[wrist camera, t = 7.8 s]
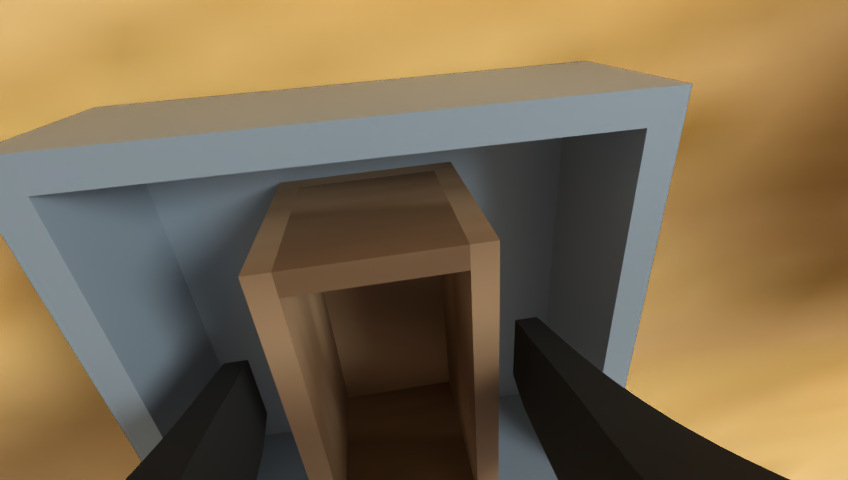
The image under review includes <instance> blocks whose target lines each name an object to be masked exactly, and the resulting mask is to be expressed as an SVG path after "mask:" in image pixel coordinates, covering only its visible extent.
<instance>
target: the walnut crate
mask: <svg viewBox="0 0 848 480" xmlns="http://www.w3.org/2000/svg"><path fill="white" fill-rule="evenodd" d="M238 278H239V281H240V284H241V287H242V290H243V292H244V295H245V298H246V301H247V304H248V307H249V310H250V313H251V315H252V318H253V321H254V324H255V327H256V330H257V333H258V336H259V338H260V341H261V344H262V347H263V350H264V353H265V356H266V358H267V361H268V364H269V367H270V370H271V373H272V376H273V379H274V381H275V384H276V387H277V390H278V393H279V396H280V399H281V402H282V404H283V407H284V410H285V413H286V416H287V419H288V422H289V424H290V427H291V430H292V433H293V436H294V439H295V442H296V445H297V447H298V450H299V453H300V456H301V459H302V462H303V465H304V467H305V470H306V473H307V476H308V479H309V480H498V466H499V322H500V239H499V238H498V236H497V235H496V233H495V231H494V230H493V228H492V227H491V225H490V223H489V222H488V220H487V219H486V217H485V215H484V214H483V212H482V211H481V209H480V208H479V206H478V204H477V203H476V201H475V200H474V198H473V196H472V195H471V193H470V192H469V190H468V188H467V187H466V185H465V184H464V182H463V180H462V179H461V177H460V176H459V174H458V173H457V171H456V169H455V168H454V166H453V165H452V163H451V162H443V163H434V164H426V165H418V166H410V167H402V168H394V169H386V170H378V171H370V172H361V173H353V174H345V175H337V176H329V177H321V178H313V179H305V180H297V181H288V182H280V184H279V186H278V188H277V191H276V193H275V195H274V197H273V200H272V202H271V204H270V206H269V209H268V211H267V213H266V215H265V218H264V220H263V222H262V224H261V227H260V229H259V231H258V233H257V236H256V238H255V240H254V242H253V245H252V247H251V249H250V251H249V254H248V256H247V258H246V260H245V263H244V265H243V267H242V269H241V272H240V274H239V276H238Z"/></svg>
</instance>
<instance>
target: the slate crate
mask: <svg viewBox="0 0 848 480" xmlns="http://www.w3.org/2000/svg"><path fill="white" fill-rule="evenodd" d="M691 88H692V84H691V83H686V82H681V81H677V80H672V79H668V78H663V77H658V76H654V75H649V74H644V73H640V72H635V71H631V70H626V69H621V68H617V67H612V66H607V65H603V64H598V63H594V62H589V61H580V62H570V63H559V64H549V65H538V66H527V67H517V68H506V69H496V70H485V71H475V72H464V73H453V74H443V75H432V76H422V77H411V78H400V79H390V80H379V81H369V82H358V83H348V84H337V85H326V86H316V87H305V88H295V89H284V90H273V91H263V92H252V93H242V94H231V95H221V96H210V97H199V98H189V99H178V100H168V101H157V102H146V103H136V104H125V105H115V106H104V107H94V108H92V109H89V110H86V111H83V112H81V113H78V114H75V115H73V116H70V117H67V118H64V119H62V120H59V121H56V122H54V123H51V124H48V125H45V126H43V127H40V128H37V129H34V130H32V131H29V132H26V133H24V134H21V135H18V136H15V137H13V138H10V139H7V140H5V141H2V142H0V234H1V235H2V237H3V238H4V240H5V242H6V243H7V245H8V246H9V248H10V250H11V251H12V253H13V255H14V256H15V258H16V259H17V261H18V263H19V264H20V266H21V267H22V269H23V271H24V272H25V274H26V275H27V277H28V279H29V280H30V282H31V284H32V285H33V287H34V288H35V290H36V292H37V293H38V295H39V296H40V298H41V300H42V301H43V303H44V305H45V306H46V308H47V309H48V311H49V313H50V314H51V316H52V317H53V319H54V321H55V322H56V324H57V325H58V327H59V329H60V330H61V332H62V334H63V335H64V337H65V338H66V340H67V342H68V343H69V345H70V346H71V348H72V350H73V351H74V353H75V354H76V356H77V358H78V359H79V361H80V363H81V364H82V366H83V367H84V369H85V371H86V372H87V374H88V375H89V377H90V379H91V380H92V382H93V383H94V385H95V387H96V388H97V390H98V392H99V393H100V395H101V396H102V398H103V400H104V401H105V403H106V404H107V406H108V408H109V409H110V411H111V413H112V414H113V416H114V417H115V419H116V421H117V422H118V424H119V425H120V427H121V429H122V430H123V432H124V433H125V435H126V437H127V438H128V440H129V442H130V443H131V445H132V446H133V448H134V450H135V451H136V453H137V454H138V456H139V458H140V459H141V461H143V460H144V459H145V458H146V456H147V455H148V454H149V453H150V452H151V451H152V450H153V449H154V448H155V446H156V445H157V444H158V443H159V442H160V441H161V440H162V438H163V437H164V436H165V435H166V434H167V433H168V431H169V430H170V429H171V428H172V427H173V425H174V424H175V423H176V422H177V421H178V419H179V418H180V417H181V416H182V415H183V413H184V412H185V411H186V410H187V408H188V407H189V406H190V405H191V403H192V402H193V401H194V400H195V398H196V397H197V396H198V395H199V393H200V392H201V391H202V390H203V388H204V387H205V386H206V385H207V383H208V382H209V381H210V380H211V378H212V377H213V376H214V375H215V374H216V372H217V371H218V370H219V369H220V368H221V366H222V365H223V364H224V363H230V362H237V361H243V360H248V362H249V364H250V367H251V370H252V373H253V375H254V378H255V381H256V384H257V387H258V389H259V392H260V395H261V398H262V400H263V403H264V406H265V409H266V411H267V421H266V430H265V439H264V447H263V454H262V458H261V463H260V467H259V471H258V475H257V479H256V480H309V479H308V476H307V473H306V470H305V467H304V465H303V462H302V459H301V456H300V453H299V450H298V447H297V445H296V442H295V439H294V436H293V433H292V430H291V427H290V424H289V422H288V419H287V416H286V413H285V410H284V407H283V404H282V402H281V399H280V396H279V393H278V390H277V387H276V384H275V381H274V379H273V376H272V373H271V370H270V367H269V364H268V361H267V358H266V356H265V353H264V350H263V347H262V344H261V341H260V338H259V336H258V333H257V330H256V327H255V324H254V321H253V318H252V315H251V313H250V310H249V307H248V304H247V301H246V298H245V295H244V292H243V290H242V287H241V284H240V281H239V278H238V276H239V274H240V272H241V269H242V267H243V265H244V263H245V260H246V258H247V256H248V254H249V251H250V249H251V247H252V245H253V242H254V240H255V238H256V236H257V233H258V231H259V229H260V227H261V224H262V222H263V220H264V218H265V215H266V213H267V211H268V209H269V206H270V204H271V202H272V200H273V197H274V195H275V193H276V191H277V188H278V186H279V184H280V182H288V181H297V180H305V179H313V178H321V177H329V176H337V175H345V174H353V173H361V172H370V171H378V170H386V169H394V168H402V167H410V166H418V165H426V164H434V163H443V162H451V163H452V165H453V166H454V168H455V169H456V171H457V173H458V174H459V176H460V177H461V179H462V180H463V182H464V184H465V185H466V187H467V188H468V190H469V192H470V193H471V195H472V196H473V198H474V200H475V201H476V203H477V204H478V206H479V208H480V209H481V211H482V212H483V214H484V215H485V217H486V219H487V220H488V222H489V223H490V225H491V227H492V228H493V230H494V231H495V233H496V235H497V236H498V238H499V239H500V322H499V466H498V480H558V479H557V477H556V475H555V473H554V471H553V468H552V466H551V464H550V462H549V460H548V458H547V456H546V454H545V451H544V449H543V447H542V445H541V443H540V441H539V439H538V437H537V435H536V432H535V430H534V428H533V426H532V424H531V422H530V420H529V417H528V415H527V413H526V411H525V409H524V406H523V403H522V400H521V397H520V394H519V391H518V388H517V385H516V382H515V379H514V376H513V361H514V338H515V320H519V319H526V318H532V317H537V318H539V319H540V320H541V321H542V322H543V323H545V324H546V325H547V326H548V327H549V328H550V329H551V330H553V331H554V332H555V333H556V334H557V335H558V336H559V337H561V338H562V339H563V340H564V341H565V342H566V343H568V344H569V345H570V346H571V347H572V348H573V349H575V350H576V351H577V352H578V353H579V354H581V355H582V356H583V357H584V358H586V359H587V360H588V361H589V362H591V363H592V364H593V365H594V366H596V367H597V368H598V369H599V370H601V371H602V372H603V373H604V374H606V375H607V376H608V377H610V378H611V379H612V380H614V381H615V382H616V383H618V384H619V385H621V386H622V387H623V388H625V385H626V381H627V376H628V372H629V367H630V363H631V358H632V354H633V349H634V345H635V340H636V336H637V331H638V327H639V322H640V318H641V313H642V309H643V304H644V300H645V295H646V291H647V286H648V282H649V277H650V273H651V268H652V264H653V259H654V255H655V250H656V246H657V241H658V237H659V232H660V228H661V223H662V219H663V214H664V210H665V205H666V201H667V196H668V191H669V187H670V182H671V178H672V173H673V169H674V164H675V160H676V155H677V151H678V146H679V142H680V137H681V133H682V128H683V124H684V119H685V115H686V110H687V106H688V101H689V97H690V92H691Z"/></svg>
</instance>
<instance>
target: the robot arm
mask: <svg viewBox="0 0 848 480" xmlns="http://www.w3.org/2000/svg"><path fill="white" fill-rule="evenodd" d="M513 376H514V379H515V382H516V385H517V388H518V391H519V394H520V397H521V400H522V403H523V406H524V409H525V411H526V413H527V415H528V417H529V420H530V422H531V424H532V426H533V428H534V430H535V432H536V435H537V437H538V439H539V441H540V443H541V445H542V447H543V449H544V451H545V454H546V456H547V458H548V460H549V462H550V464H551V466H552V468H553V471H554V473H555V475H556V477H557V479H558V480H789V479H787V478H785V477H782V476H780V475H778V474H776V473H774V472H772V471H770V470H767V469H765V468H763V467H761V466H759V465H757V464H755V463H753V462H750V461H748V460H746V459H744V458H742V457H740V456H738V455H736V454H734V453H732V452H730V451H728V450H726V449H724V448H722V447H720V446H718V445H717V444H715V443H713V442H711V441H709V440H708V439H706V438H704V437H702V436H700V435H698V434H697V433H695V432H693V431H691V430H689V429H687V428H686V427H684V426H682V425H681V424H679V423H677V422H675V421H674V420H672V419H670V418H669V417H667V416H666V415H664V414H663V413H661V412H659V411H658V410H656V409H655V408H653V407H651V406H650V405H648V404H647V403H645V402H644V401H642V400H641V399H639V398H638V397H636V396H635V395H633V394H632V393H630V392H629V391H628V390H626V389H625V388H623V387H622V386H621V385H619V384H618V383H616V382H615V381H614V380H612V379H611V378H610V377H608V376H607V375H606V374H604V373H603V372H602V371H601V370H599V369H598V368H597V367H596V366H594V365H593V364H592V363H591V362H589V361H588V360H587V359H586V358H584V357H583V356H582V355H581V354H579V353H578V352H577V351H576V350H575V349H573V348H572V347H571V346H570V345H569V344H568V343H566V342H565V341H564V340H563V339H562V338H561V337H559V336H558V335H557V334H556V333H555V332H554V331H553V330H551V329H550V328H549V327H548V326H547V325H546V324H545V323H543V322H542V321H541V320H540V319H539V318H537V317H532V318H526V319H519V320H515V338H514V361H513ZM266 421H267V411H266V409H265V406H264V403H263V400H262V398H261V395H260V392H259V389H258V387H257V384H256V381H255V378H254V375H253V373H252V370H251V367H250V364H249V362H248V360H243V361H237V362H230V363H224V364H223V365H222V366H221V368H220V369H219V370H218V371H217V372H216V374H215V375H214V376H213V377H212V378H211V380H210V381H209V382H208V383H207V385H206V386H205V387H204V388H203V390H202V391H201V392H200V393H199V395H198V396H197V397H196V398H195V400H194V401H193V402H192V403H191V405H190V406H189V407H188V408H187V410H186V411H185V412H184V413H183V415H182V416H181V417H180V418H179V419H178V421H177V422H176V423H175V424H174V425H173V427H172V428H171V429H170V430H169V431H168V433H167V434H166V435H165V436H164V437H163V438H162V440H161V441H160V442H159V443H158V444H157V445H156V446H155V448H154V449H153V450H152V451H151V452H150V453H149V454H148V455H147V456H146V458H145V459H144V460H143V461H142V462H141V463H140V464H139V465H138V467H137V468H136V469H135V470H134V471H133V472H132V473H131V474H130V475H129V476H128V477H127V478H126V480H256V479H257V475H258V471H259V467H260V463H261V458H262V454H263V447H264V439H265V430H266Z"/></svg>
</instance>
